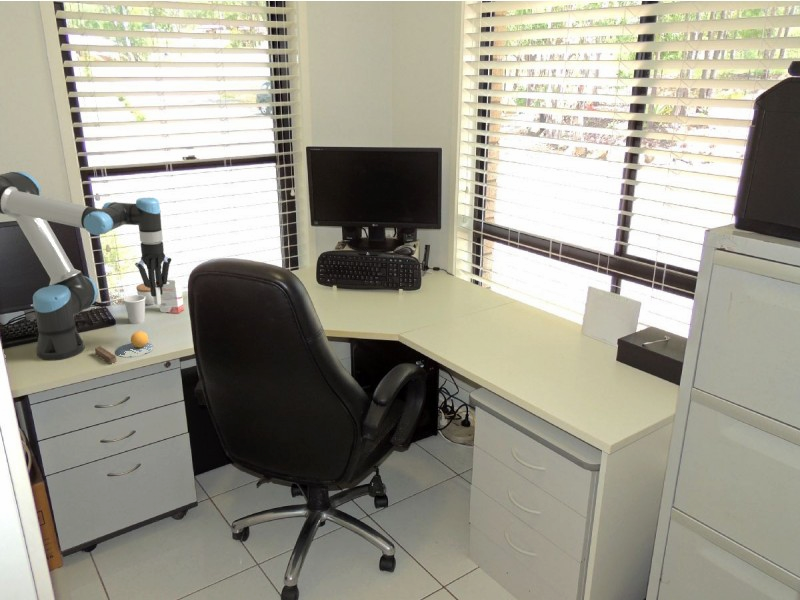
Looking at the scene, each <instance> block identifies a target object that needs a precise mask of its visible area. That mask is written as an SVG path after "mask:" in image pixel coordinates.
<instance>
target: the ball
mask: <svg viewBox="0 0 800 600" xmlns="http://www.w3.org/2000/svg"><path fill="white" fill-rule="evenodd" d="M130 343H132V345H133V346H135V347H138V348H141V347H144V346H145V345H146V344H147V343H149V336H148V334H147V333H146V332H144V331H140V330H139V331H135V332H134V333H133V334H132V335H131V336H130Z"/></svg>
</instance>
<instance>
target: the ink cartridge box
mask: <svg viewBox="0 0 800 600" xmlns="http://www.w3.org/2000/svg"><path fill="white" fill-rule="evenodd" d="M182 288H183V287H182V284H181V283H180V284H179V283H176V280H174V279H172V280H171V279H167V284H164V285H163V287H162V295H161V304H160V305H159V308H160V313H166V312H169V314H180V313H182V312H183V311H184V309H185V307H184V297H183V296H184V295H183V289H182ZM182 310H183V311H182ZM179 312H180V313H179Z"/></svg>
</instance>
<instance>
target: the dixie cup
mask: <svg viewBox="0 0 800 600" xmlns="http://www.w3.org/2000/svg"><path fill="white" fill-rule="evenodd" d="M145 299H146V297H145V296H143V295H138V294H131V295H128V296H125V297H124V298H123V299H122V300H123V302H124V305H125V309H126V313H127V317H128V320H129V324H132V325H138V324H142V323H144V322H145V321H146V304H145Z"/></svg>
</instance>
